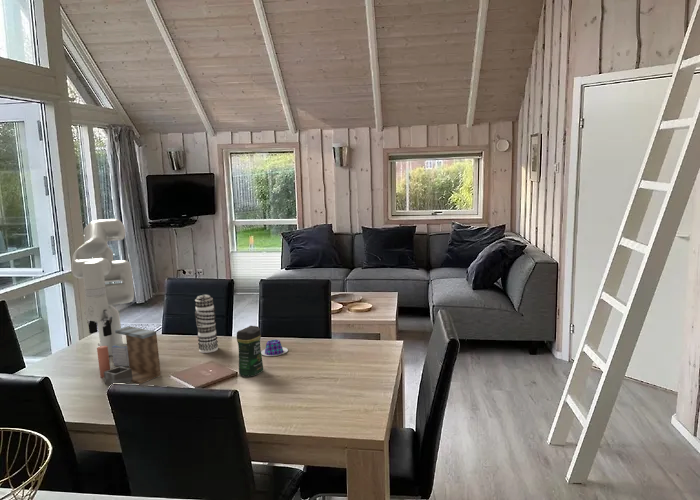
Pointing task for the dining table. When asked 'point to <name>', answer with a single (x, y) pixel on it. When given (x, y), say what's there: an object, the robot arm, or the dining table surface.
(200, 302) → the decorative candle
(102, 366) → the peg
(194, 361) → the dining table surface
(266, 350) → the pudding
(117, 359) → the medicine box
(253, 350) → the coffee jar
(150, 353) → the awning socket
